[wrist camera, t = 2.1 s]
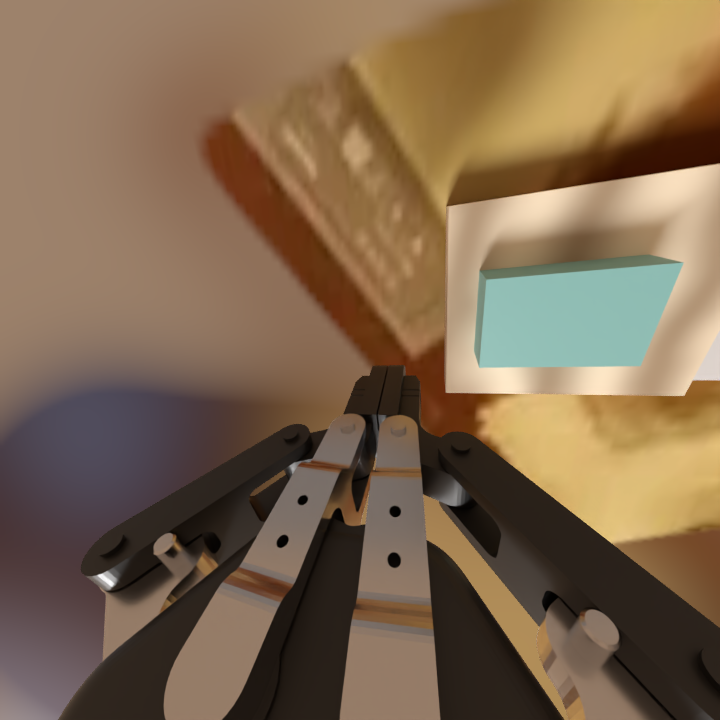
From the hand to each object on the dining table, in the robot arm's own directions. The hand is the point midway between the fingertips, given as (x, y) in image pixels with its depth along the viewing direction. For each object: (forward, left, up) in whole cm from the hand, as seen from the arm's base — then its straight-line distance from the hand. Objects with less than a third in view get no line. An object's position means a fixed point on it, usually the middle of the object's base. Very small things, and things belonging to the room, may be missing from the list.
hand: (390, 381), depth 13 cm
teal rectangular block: (-10, 0, -9) cm, 13 cm away
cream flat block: (-11, 0, -11) cm, 16 cm away
